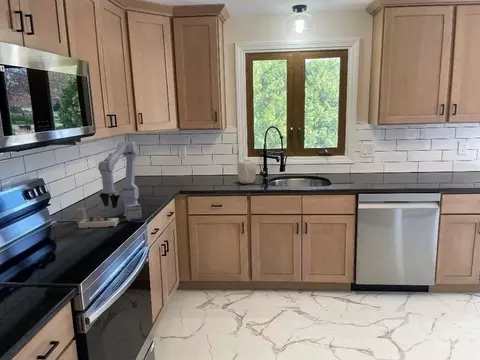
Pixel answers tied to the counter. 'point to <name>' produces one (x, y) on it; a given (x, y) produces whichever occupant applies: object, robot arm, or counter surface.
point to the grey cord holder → (80, 214)
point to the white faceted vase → (246, 171)
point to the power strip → (98, 223)
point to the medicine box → (133, 212)
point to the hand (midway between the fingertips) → (110, 206)
